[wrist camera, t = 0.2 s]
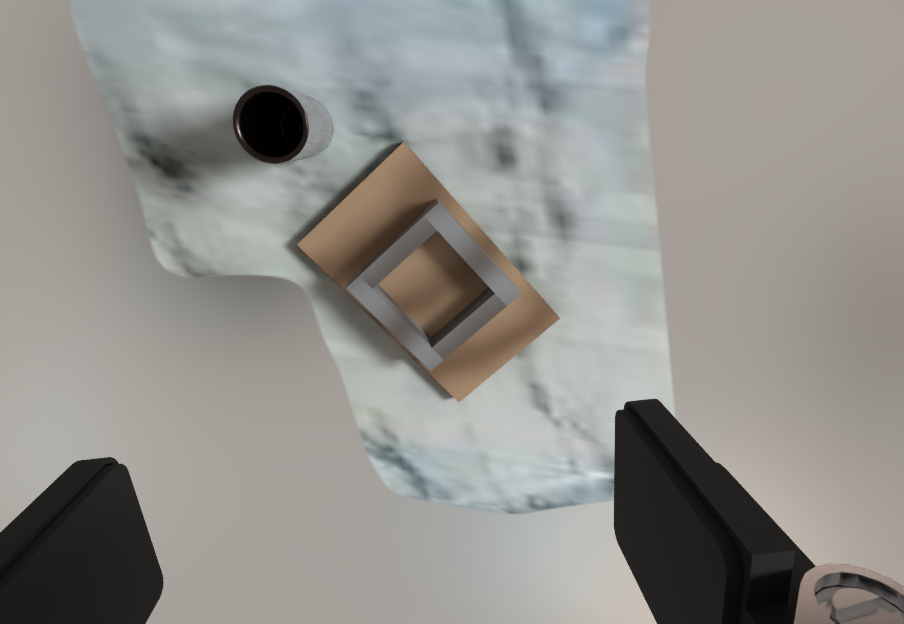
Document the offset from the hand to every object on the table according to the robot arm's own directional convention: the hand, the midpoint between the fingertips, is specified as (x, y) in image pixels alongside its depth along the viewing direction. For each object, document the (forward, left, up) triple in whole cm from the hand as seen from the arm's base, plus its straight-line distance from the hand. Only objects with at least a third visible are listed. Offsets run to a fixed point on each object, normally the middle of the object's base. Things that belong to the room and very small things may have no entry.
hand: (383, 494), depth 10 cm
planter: (-11, -1, -37) cm, 38 cm away
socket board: (+5, -2, -36) cm, 37 cm away
